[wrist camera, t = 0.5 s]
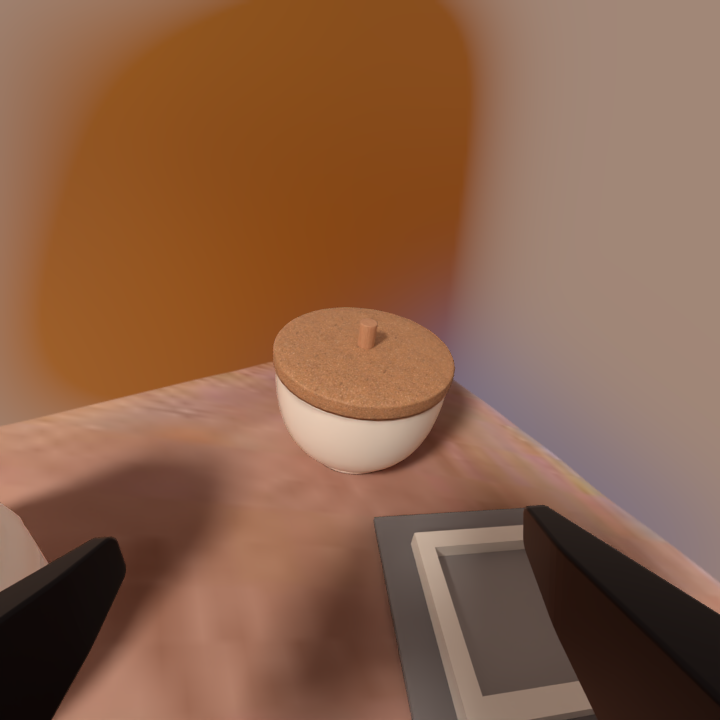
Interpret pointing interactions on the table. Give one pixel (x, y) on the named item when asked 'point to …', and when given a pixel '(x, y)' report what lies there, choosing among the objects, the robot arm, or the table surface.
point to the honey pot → (16, 550)
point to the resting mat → (474, 620)
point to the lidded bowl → (359, 386)
